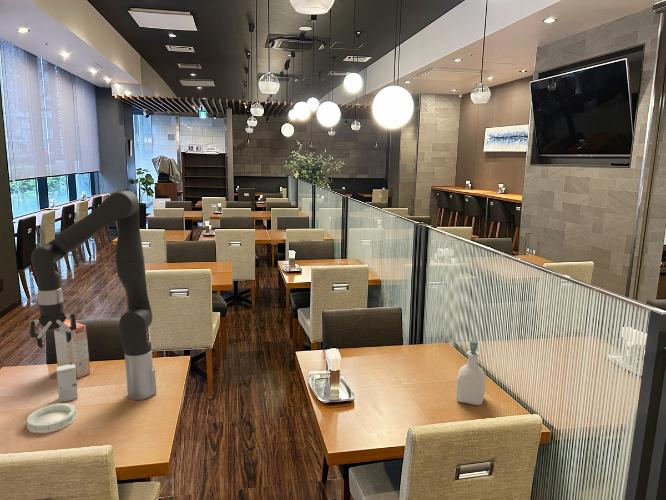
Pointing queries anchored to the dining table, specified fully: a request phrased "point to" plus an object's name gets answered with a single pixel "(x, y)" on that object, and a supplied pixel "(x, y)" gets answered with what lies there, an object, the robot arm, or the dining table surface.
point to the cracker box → (73, 348)
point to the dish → (51, 418)
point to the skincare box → (67, 382)
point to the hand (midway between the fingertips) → (54, 344)
